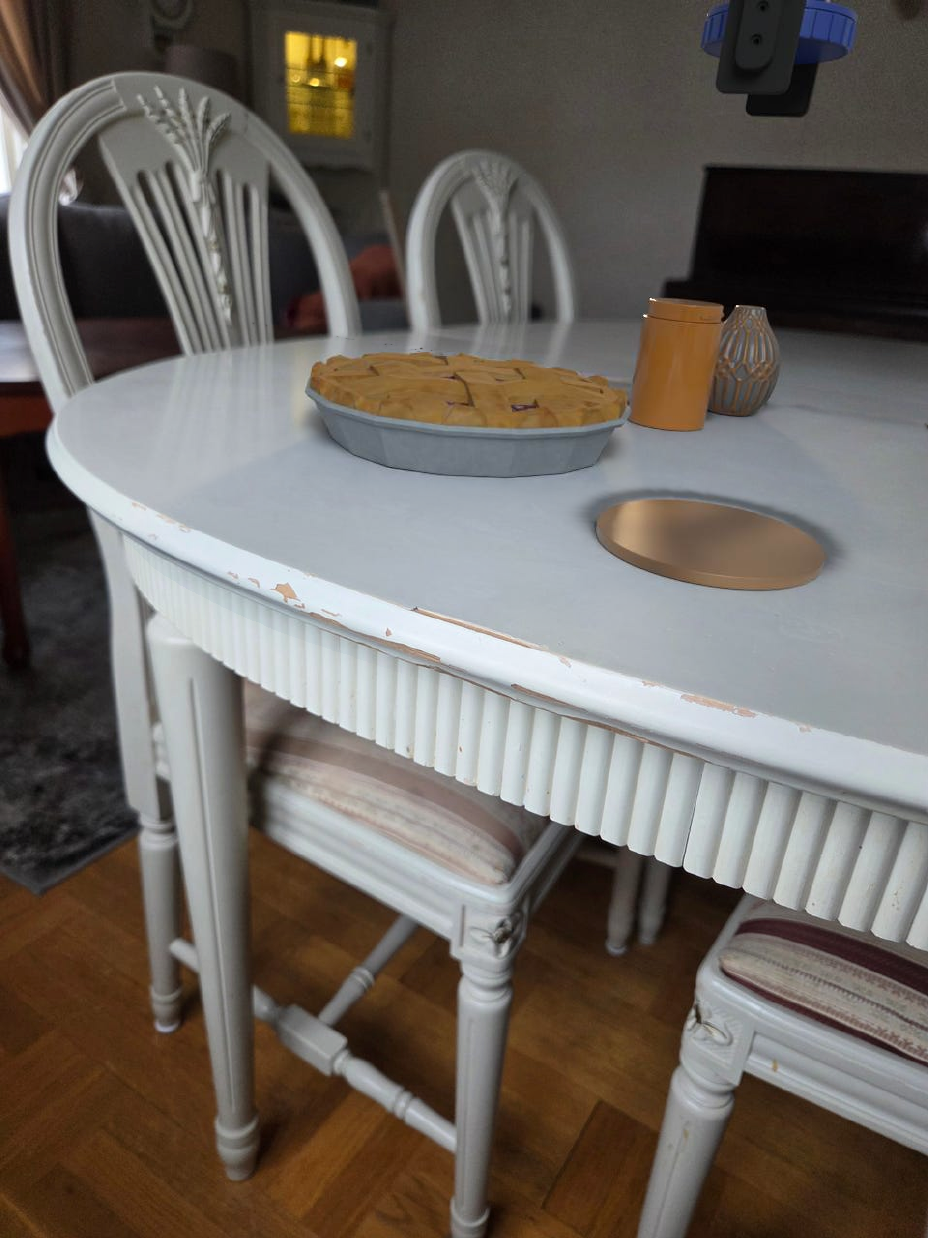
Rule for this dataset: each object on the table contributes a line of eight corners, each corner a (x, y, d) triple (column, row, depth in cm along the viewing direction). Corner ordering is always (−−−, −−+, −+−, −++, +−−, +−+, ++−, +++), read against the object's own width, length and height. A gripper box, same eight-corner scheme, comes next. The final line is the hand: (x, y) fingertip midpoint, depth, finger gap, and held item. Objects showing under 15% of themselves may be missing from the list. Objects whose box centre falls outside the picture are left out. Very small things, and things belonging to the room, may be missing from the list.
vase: (674, 402, 75) (693, 300, 72) (739, 403, 78) (760, 303, 74) (717, 420, 70) (739, 309, 66) (785, 420, 72) (811, 313, 68)
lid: (684, 36, 39) (690, 0, 38) (717, 64, 44) (723, 33, 44) (843, 34, 36) (851, -6, 35) (856, 64, 41) (864, 31, 41)
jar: (710, 421, 69) (734, 304, 65) (694, 434, 64) (719, 308, 60) (638, 409, 71) (657, 295, 67) (617, 421, 66) (636, 299, 62)
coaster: (831, 538, 44) (834, 527, 44) (810, 611, 35) (814, 598, 34) (630, 496, 48) (632, 486, 48) (565, 553, 39) (566, 541, 39)
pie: (682, 483, 51) (698, 402, 49) (328, 489, 45) (328, 396, 43) (551, 406, 70) (559, 344, 68) (288, 402, 64) (287, 334, 61)
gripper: (797, -284, 42) (722, 125, 49) (730, -562, 27) (640, 73, 35) (964, -309, 39) (856, 130, 47) (985, -635, 25) (825, 74, 32)
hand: (764, 101), depth 41 cm, fingers closed on lid, 6 cm apart
